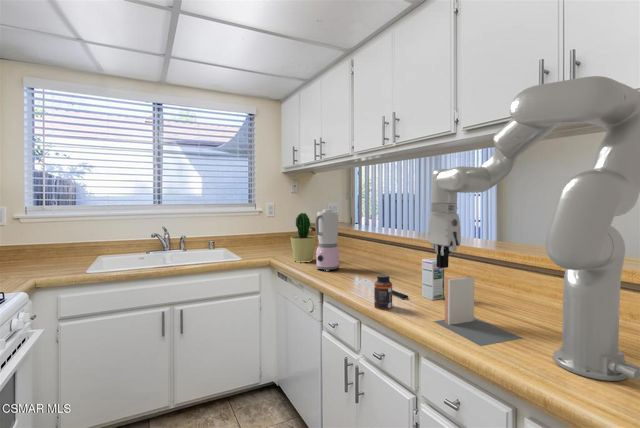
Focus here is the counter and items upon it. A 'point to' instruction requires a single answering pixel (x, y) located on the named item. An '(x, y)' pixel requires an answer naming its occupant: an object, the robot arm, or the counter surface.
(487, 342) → the mat
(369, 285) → the kitchen cleaver
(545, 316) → the counter surface
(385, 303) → the supplement bottle
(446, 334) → the counter surface
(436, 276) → the syrup box
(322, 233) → the blender
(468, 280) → the tile
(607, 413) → the counter surface
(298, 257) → the potted cactus
